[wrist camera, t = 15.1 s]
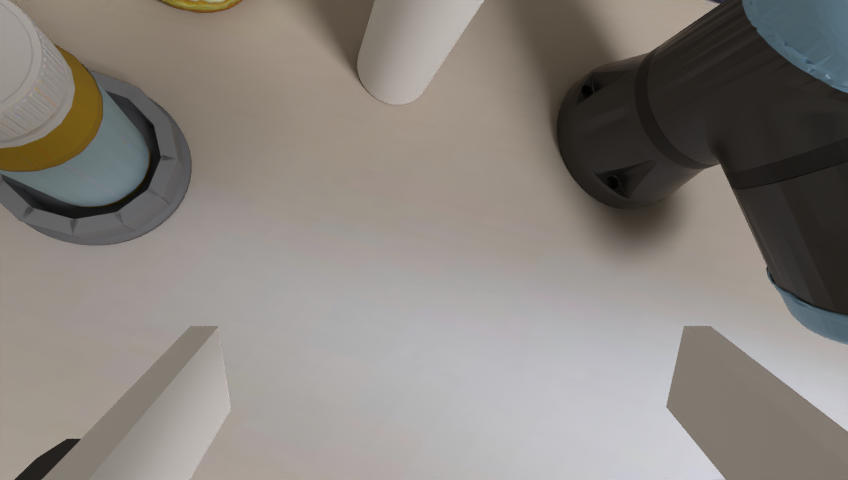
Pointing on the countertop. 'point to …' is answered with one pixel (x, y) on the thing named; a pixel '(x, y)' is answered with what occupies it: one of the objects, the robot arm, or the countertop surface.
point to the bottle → (62, 122)
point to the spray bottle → (409, 45)
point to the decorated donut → (203, 5)
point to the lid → (136, 211)
